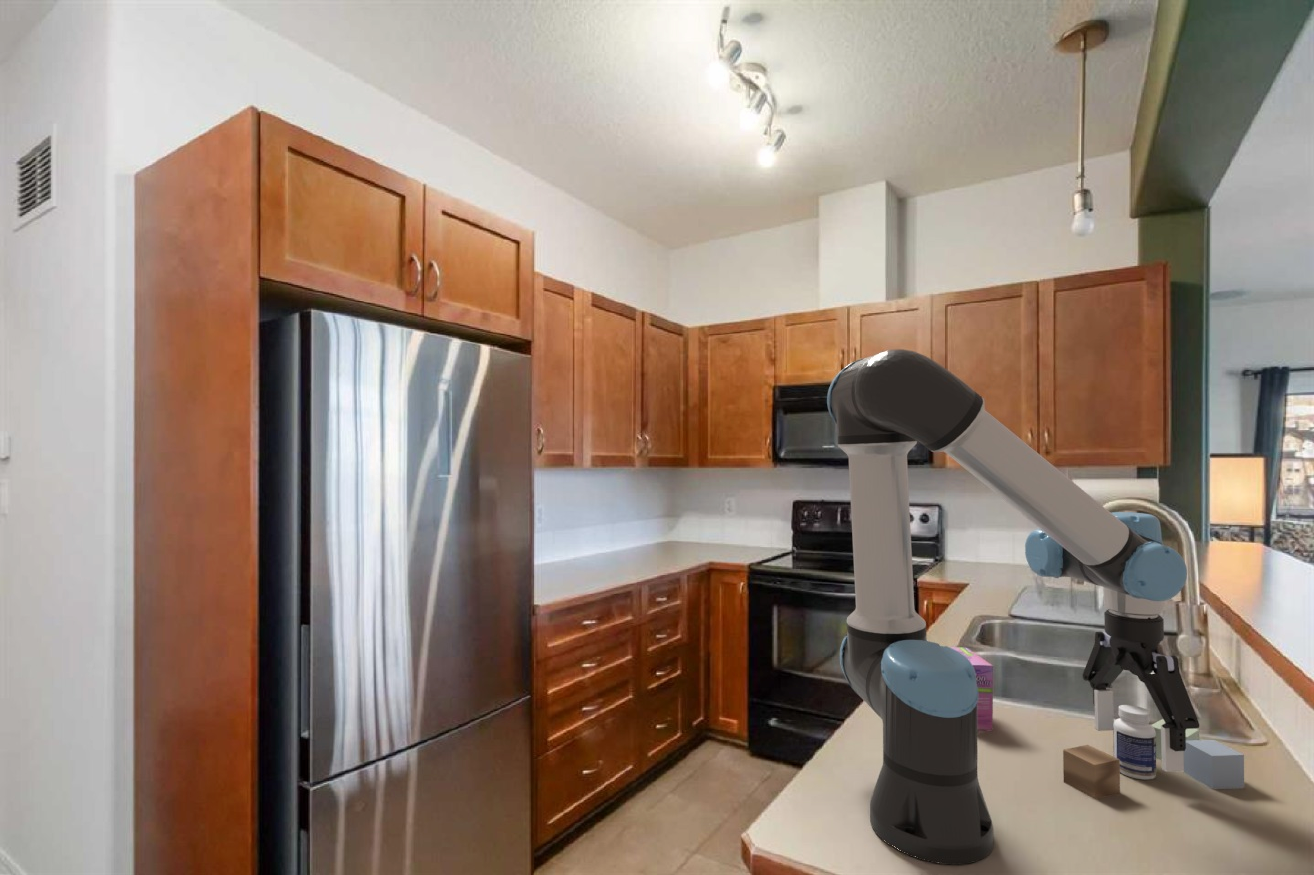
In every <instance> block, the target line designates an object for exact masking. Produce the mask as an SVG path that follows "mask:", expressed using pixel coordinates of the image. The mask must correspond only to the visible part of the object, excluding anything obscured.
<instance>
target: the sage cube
mask: <svg viewBox="0 0 1314 875" xmlns="http://www.w3.org/2000/svg"><path fill="white" fill-rule="evenodd" d="M1163 724H1165V721H1164V719H1163V718H1162V719H1161V718H1160V719H1159V720H1158V721H1156V722H1154V723H1152V724H1150V725H1151V726H1152V727H1153V728H1154V729H1155V731H1156V760H1157V759H1158V760H1160V761H1162V754H1161V725H1163ZM1188 740H1200V729H1199V728H1195V729H1186V741H1188Z"/></svg>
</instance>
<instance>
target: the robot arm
mask: <svg viewBox="0 0 1314 875" xmlns="http://www.w3.org/2000/svg"><path fill="white" fill-rule="evenodd" d="M826 404H827V409H828V413H829V415H830V417H831V419H832V420H833V421H834V423H835V424H836V430H837V431H836V432H837V447H838V448H839V449H840V450H842V451H843V452H844V453H845V454H846V455H847V457H848V470H849V471H848V472H849V473H848V474H849V490H850V492H849V493H850V495H849V496H850V513H851V514H850V515H851V517H850V518H851V533H852V536H851V537H852V553H853V554H852V556H853V571H854V572H853V573H854V574H853V575H854V595H855V598H854V599H855V609H854V610H853V611H852V612H851V613H850V614H849V615H848V616H847V618H846V635H845V636H844V637H843V639H842V642H841V644H840V649H839V663H840V669H841V671H842V673H843V675H844V678H845V680H846V681H847V683H848V685H849V686H850V687H851V690H853V692H854V693H855V694H856V695H858V696H859V697H860V698H861V699H862V700H863V701H864V702H865V703H866V704H867V705H868V707H870V709H872V711H874V712H875V714H876V715H877V716H878V717H879V718H880V719H881V720H882V749H883V750H882V757H883V758H882V766H881V768H880V772H879V774H878V778H877V780H876V783H875V785H874V789H873V792H872V794H871V797H870V803H869V819H870V820H869V821H870V826H871V828H872V829H873V831H874V832H875V834H876V835H878V837H879V838H880V839H881V838H882V839H881V840H882V841H884V840H885V841H886V842H887V843H886V842H885V841H884V842H885V843H886V844H888V843H889V844H890V845H889V844H888V845H889V846H891V845H893V846H895V847H896V848H898V849H899V850H901V851H903V852H905V853H908V854H909V855H908V854H907V855H908V856H910V855H912V856H911V857H913V856H916V857H918V858H917V859H919V858H920V859H919V860H922V859H925V860H924V861H926V860H929V861H928V862H930V861H933V862H932V863H935V862H939V863H938V864H942V863H944V864H943V865H964V864H971V863H975V862H978V861H981V860H983V859H984V858H986V857H987V856H989V855H990V853H991V852H992V850H993V848H994V826H993V821H992V818H991V815H990V812H989V809H988V806H987V804H986V801H985V797H984V794H983V791H982V788H981V785H980V783H979V779H978V731H977V702H978V696H979V694H978V686H977V682H976V673H975V670H974V667H973V665H972V664H971V662H970V661H969V660H968V659H967V658H966V657H965V656H964V655H962V654H961V653H959V652H958V651H956V650H954V649H952V648H950V647H951V646H947V645H944V646H943V645H940V643H937V642H934V641H930V640H928V635H927V623H926V620H925V619H924V618H923V617H922V616H920V615H919V614H918V613H917V611H916V610H915V597H914V595H915V594H914V592H915V591H914V577H913V576H914V573H913V557H912V556H913V552H912V533H911V531H912V530H911V512H910V510H911V509H910V494H909V493H910V492H909V491H910V490H909V470H908V454H909V452H910V451H911V450H912V449H913V448H914V447H915V446H916V445H917V443H918V442H919V443H920V444H921V445H923V446H924V447H925V448H927V449H928V450H929V451H930V452H933V453H941V452H943V453H945V454H946V455H948V457H950V458H951V459H952V460H954V461H955V462H956V463H957V464H959V465H960V466H961V467H962V468H964V470H966V471H967V472H968V473H970V474H971V475H972V476H973V477H975V478H976V479H977V480H978V481H980V482H981V483H982V484H983V485H984V486H986V487H987V488H989V489H990V490H991V491H992V492H994V493H995V494H996V495H997V496H998V497H999V498H1001V499H1003V500H1004V501H1005V502H1006V503H1007V504H1009V506H1011V507H1012V508H1013V509H1015V510H1016V511H1017V512H1018V513H1019V514H1021V515H1022V516H1023V517H1024V518H1026V519H1028V521H1030V522H1031V523H1032V524H1033V525H1035V527H1037V529H1034V530H1032V531H1031V532H1030V533H1029V534H1028V536H1027V537H1026V540H1025V544H1024V547H1025V548H1024V550H1025V552H1024V554H1025V555H1024V556H1025V558H1026V561H1027V564H1028V567H1029V568H1030V569H1031V571H1032V572H1034V573H1035V574H1036V575H1037V576H1040V577H1044V578H1045V577H1046V578H1055V579H1059V578H1064V577H1065V578H1072V579H1076V580H1079V581H1082V582H1085V583H1088V584H1092V585H1096V586H1100V587H1102V588H1103V606H1104V608H1106V610H1105V611H1104V616H1103V617H1104V631H1096V632H1095V634H1094V644H1093V648H1092V649H1091V652H1090V655H1089V658H1088V660H1087V662H1086V665H1085V667H1084V670H1083V673H1082V676H1081V677H1082V679H1083V681H1088V682H1089V685H1090V687H1091V688H1092V699H1093V700H1092V701H1093V702H1092V703H1093V707H1094V729H1095V730H1096V731H1098V732H1105V731H1113V724H1114V721H1115V719H1114V718H1115V716H1114V715H1115V712H1114V691H1113V690H1112V689H1113V686H1112V684H1113V683H1114V681H1116V679H1118V677H1119V676H1120V675H1121V674H1122V673H1123V671H1128V672H1129V673H1131V674H1132V675H1134V676H1136V677H1137V678H1138V680H1139V681H1140V682H1142V683H1144V685H1145V687H1146V689H1147V691H1148V693H1149V694H1150V697H1151V699H1152V700H1153V703H1155V704H1154V705H1155V706H1156V707H1157V710H1158V712H1159V714H1160V715H1161V717H1162V719H1164V721H1165V724H1163V725H1161V754H1162V760H1161V770H1162V771H1164V772H1170V773H1171V772H1184V755H1183V751H1185V749H1186V729H1199V728H1200V723H1199V720H1198V717H1197V714H1196V711H1195V709H1194V707H1193V705H1192V701H1191V699H1190V696H1189V694H1188V693H1189V692H1188V691H1187V689H1186V686H1185V684H1184V683H1185V682H1184V680H1183V677H1182V675H1181V672H1180V665H1179V659H1178V657H1177V656H1176V655H1175V654H1174V655H1164V654H1161V652H1160V650H1159V645H1160V643H1161V642H1163V641H1164V639H1165V630H1164V629H1165V626H1164V625H1165V622H1164V618H1163V617H1162V616H1161V614H1163V613H1164V601H1168V600H1171V599H1173V598H1175V597H1176V596H1177V595H1179V593H1180V592H1181V591H1182V590H1183V588H1184V587H1185V584H1186V582H1187V579H1188V567H1187V564H1186V562H1185V560H1184V558H1183V556H1182V555H1181V554H1180V553H1179V552H1178V551H1177V550H1176V549H1174V548H1172V547H1170V546H1168V545H1165V544H1164V542H1163V536H1162V528H1161V526H1162V525H1161V522H1160V519H1158V517H1156V516H1155V515H1153V514H1150V513H1143V512H1130V511H1129V512H1125V511H1123V512H1122V511H1119V512H1115V511H1113V512H1111V511H1109V510H1108V509H1107V508H1105V507H1104V505H1102V504H1101V503H1099V502H1098V501H1097V500H1096V499H1094V497H1092V496H1091V495H1090V494H1089V493H1087V492H1086V491H1085V490H1084V489H1082V488H1081V487H1080V486H1078V485H1077V484H1076V483H1075V482H1074V481H1072V479H1070V478H1069V477H1068V476H1067V475H1065V474H1064V473H1063V472H1061V471H1060V470H1059V469H1058V468H1057V467H1055V465H1053V464H1052V463H1050V462H1049V461H1048V460H1047V459H1046V458H1045V457H1044V456H1042V455H1041V454H1040V453H1038V452H1037V451H1036V450H1035V449H1033V448H1032V447H1031V446H1030V445H1029V444H1027V443H1026V442H1025V441H1024V440H1023V439H1021V438H1020V437H1018V435H1016V433H1014V432H1013V431H1012V430H1010V429H1009V428H1008V427H1006V426H1005V425H1004V424H1003V423H1002V422H1000V420H998V419H997V418H996V417H994V416H993V415H992V414H990V413H989V412H988V411H987V410H986V408H985V407H986V406H985V405H986V403H985V399H984V397H982V396H981V394H979V393H978V392H976V390H974V389H973V388H972V387H970V386H969V385H968V384H966V382H964V381H963V380H962V379H961V378H959V377H957V376H956V375H955V374H953V373H952V372H951V371H950V370H948V369H946V368H945V367H944V366H943V365H941V364H939V363H938V362H937V361H935V360H934V359H932V358H930V357H928V356H926V355H924V354H922V353H919V352H917V351H913V350H910V349H901V348H899V349H898V348H896V349H895V348H894V349H888V350H884V351H881V352H879V353H876V354H874V355H871V356H868V357H865V358H859V359H857V360H855V361H852V362H851V363H849V364H847V366H845V367H844V368H843V369H842V370H840V371H839V372H837V374H836V376H834V378H833V379H832V381H831V382H830V386H829V388H828V390H827V398H826ZM927 640H928V641H927ZM1110 688H1111V689H1110ZM896 848H895V849H896ZM899 850H898V851H899ZM901 851H900V852H901ZM903 852H902V853H903ZM905 853H904V854H905ZM916 857H915V858H916ZM945 863H946V864H945Z"/></svg>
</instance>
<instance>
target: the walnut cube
mask: <svg viewBox="0 0 1314 875" xmlns="http://www.w3.org/2000/svg"><path fill="white" fill-rule="evenodd" d="M1062 750H1063V751H1062V752H1063V753H1062V756H1063V760H1062V762H1063V763H1062V764H1063V765H1062V766H1063V768H1062V770H1063V783H1064V784H1067V785H1068V786H1069V787H1072V788H1074V789H1075V790H1078V791H1079V792H1081V793H1083V794H1085V795H1086V796H1089V797H1090V798H1092V799H1093V800H1096V799H1100V798H1105V797H1106V798H1107V797H1109V796H1114V795H1119V794H1121V773H1120V759H1117V758H1115V757H1114V755H1111V754H1109V753H1106V752H1104V751H1103V750H1100V749H1098V748H1096V747H1094V746H1093V745H1092V746H1091V745H1089V744H1085V745H1079V746H1075V747H1069V748H1065V749H1062Z"/></svg>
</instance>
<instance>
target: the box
mask: <svg viewBox="0 0 1314 875" xmlns="http://www.w3.org/2000/svg"><path fill="white" fill-rule="evenodd" d="M949 647H950V648H952V649H954V650H956V651H958V652H959V653H961V654H962V655H964V656H965V657H966V658H967V659H968V660H969V661H970V662H971V664H972V665H973V667H974V670H975V673H976V682H977V686H978V694H979V696H978V702H977V732H979V731H984V732H985V731H993V726H994V725H993V719H994V718H993V714H994V712H993V711H994V709H993V708H994V706H993V705H994V701H993V700H994V665H993V664H991V663H990V662H988V661H987V660H985V659H984V658H982V657H981V656H980V655H978V654H977V653H975V652H974V651H972V650H971V649H970V648H968V647H962V646H961V647H959V646H957V647H956V646H954V647H953V646H949Z"/></svg>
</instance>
